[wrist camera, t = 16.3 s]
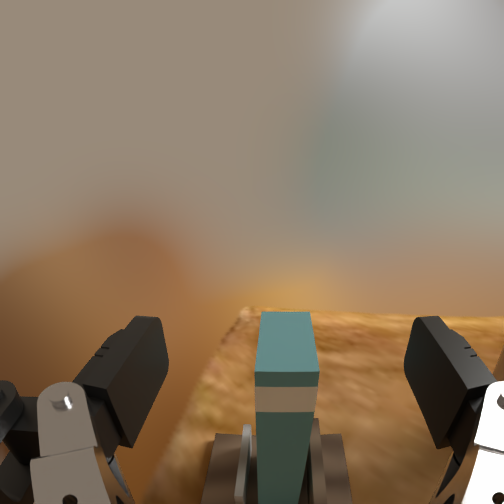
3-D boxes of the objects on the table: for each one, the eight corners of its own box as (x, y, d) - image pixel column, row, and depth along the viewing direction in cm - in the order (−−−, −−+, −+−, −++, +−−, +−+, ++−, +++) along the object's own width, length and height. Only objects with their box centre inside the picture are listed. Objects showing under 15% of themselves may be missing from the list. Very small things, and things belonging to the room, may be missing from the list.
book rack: (352, 529, 21) (366, 507, 20) (198, 528, 23) (188, 507, 21) (339, 440, 35) (346, 410, 33) (217, 440, 36) (212, 410, 34)
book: (297, 508, 24) (319, 371, 18) (258, 508, 24) (254, 371, 19) (296, 454, 32) (309, 311, 26) (262, 453, 32) (261, 311, 26)
